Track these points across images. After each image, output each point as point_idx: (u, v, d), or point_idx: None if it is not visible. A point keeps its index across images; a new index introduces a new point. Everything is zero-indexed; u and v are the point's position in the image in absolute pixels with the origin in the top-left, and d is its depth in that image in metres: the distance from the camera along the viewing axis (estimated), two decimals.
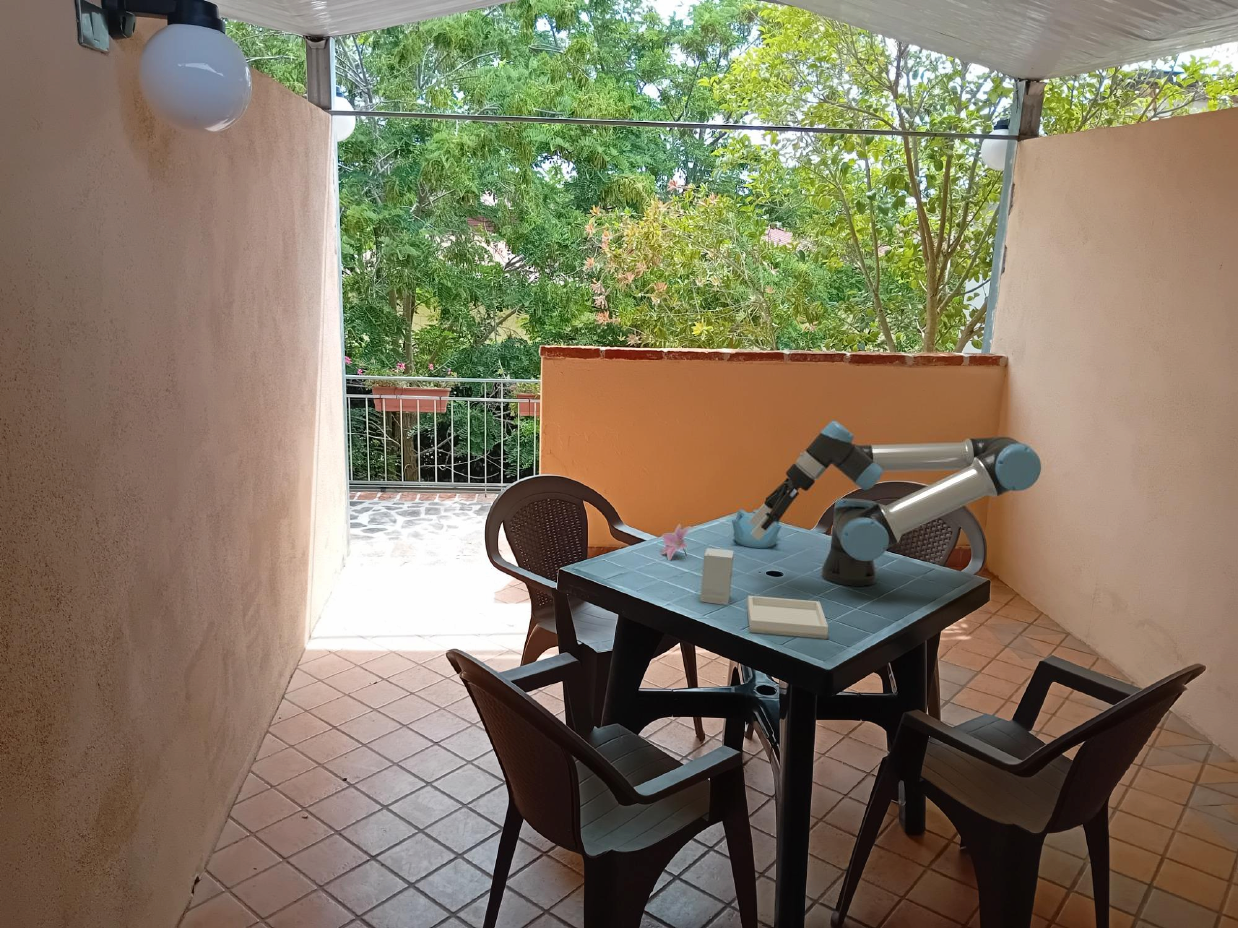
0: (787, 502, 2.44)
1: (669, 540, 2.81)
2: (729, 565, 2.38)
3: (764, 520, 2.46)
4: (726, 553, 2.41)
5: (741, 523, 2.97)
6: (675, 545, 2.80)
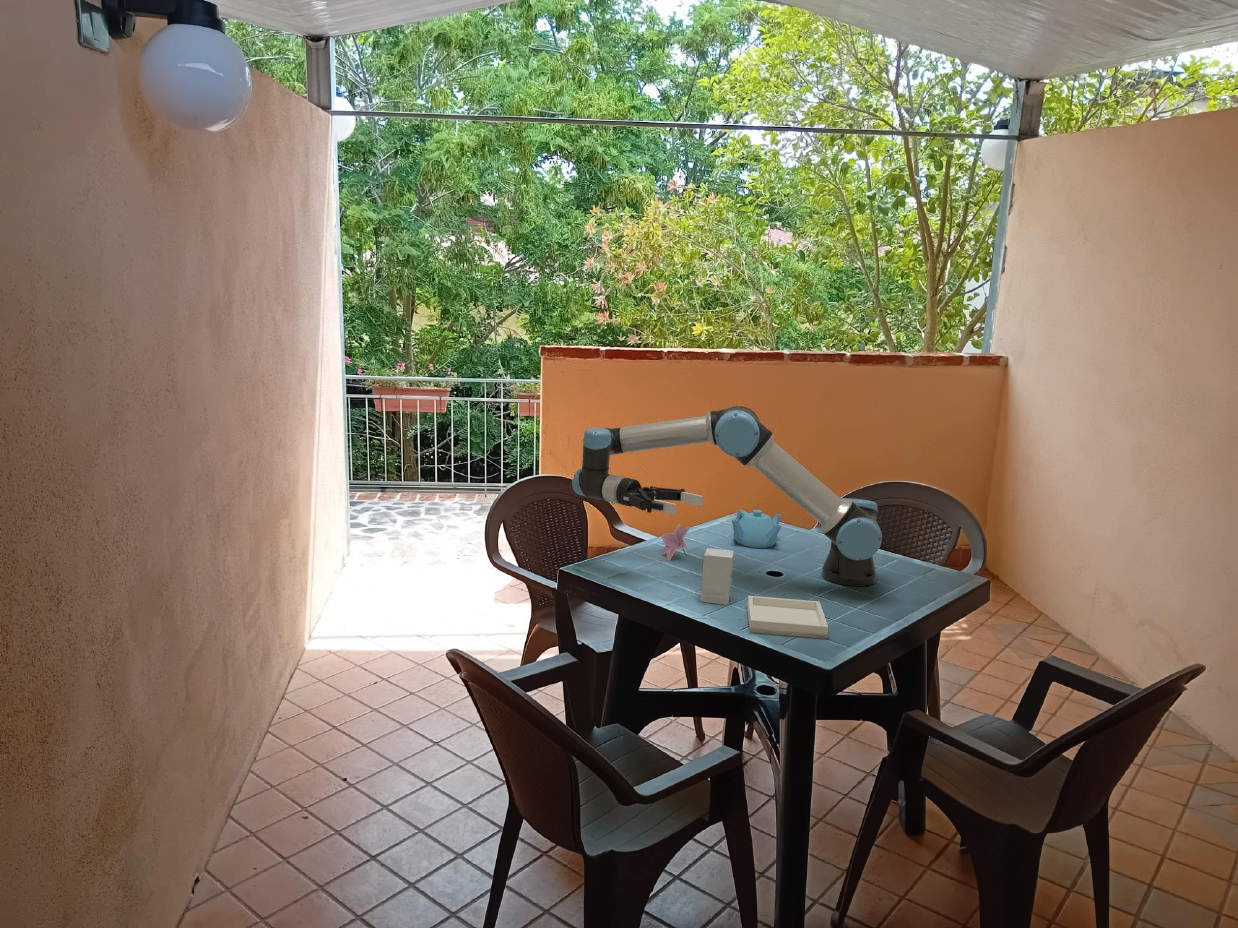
0: (632, 499, 2.46)
1: (669, 540, 2.81)
2: (729, 565, 2.38)
3: (657, 509, 2.42)
4: (726, 553, 2.41)
5: (741, 523, 2.97)
6: (675, 545, 2.80)
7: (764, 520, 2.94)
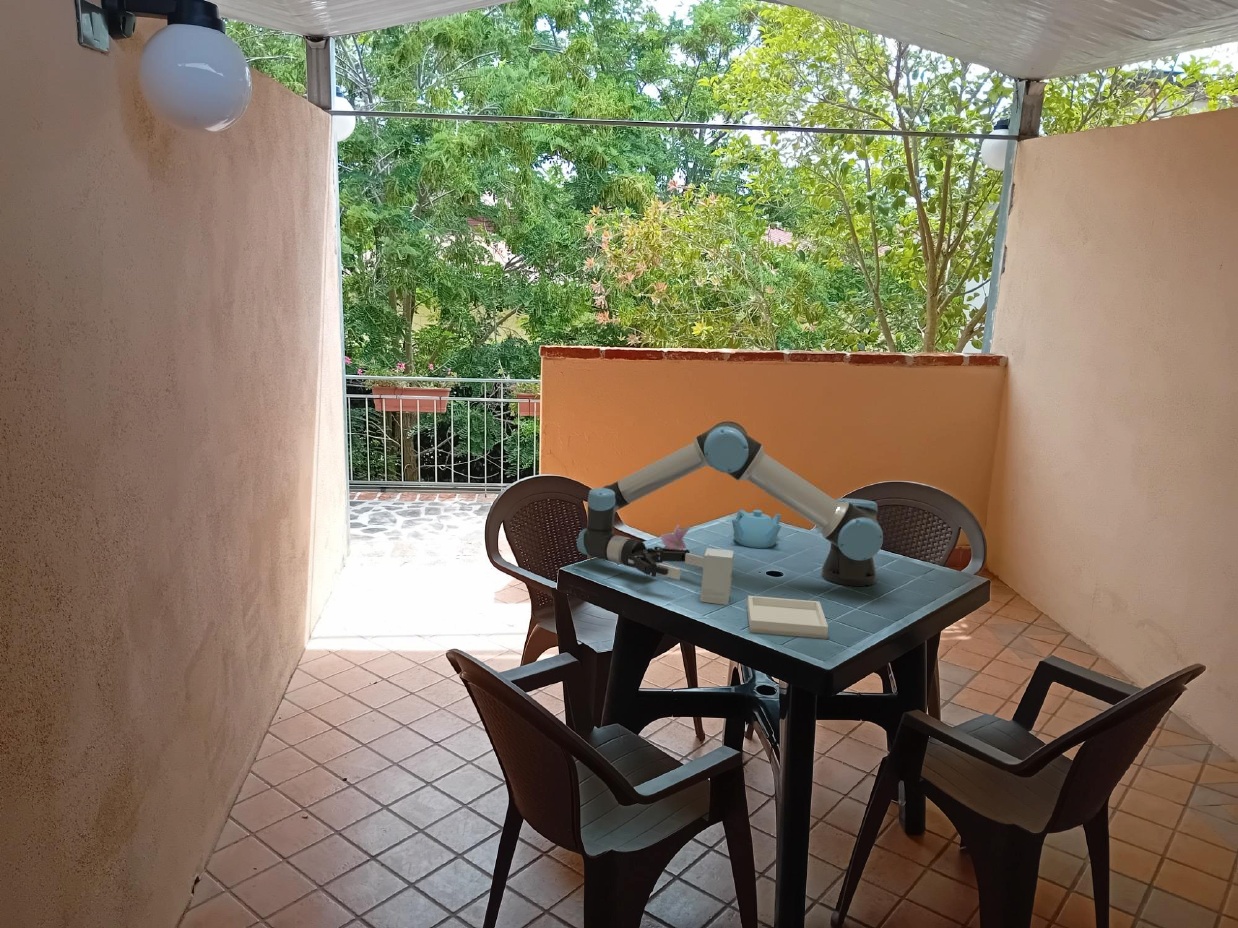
0: (636, 563, 2.47)
1: (668, 541, 2.81)
2: (729, 565, 2.38)
3: (661, 573, 2.44)
4: (726, 553, 2.41)
5: (741, 523, 2.97)
6: (674, 546, 2.80)
7: (764, 520, 2.94)
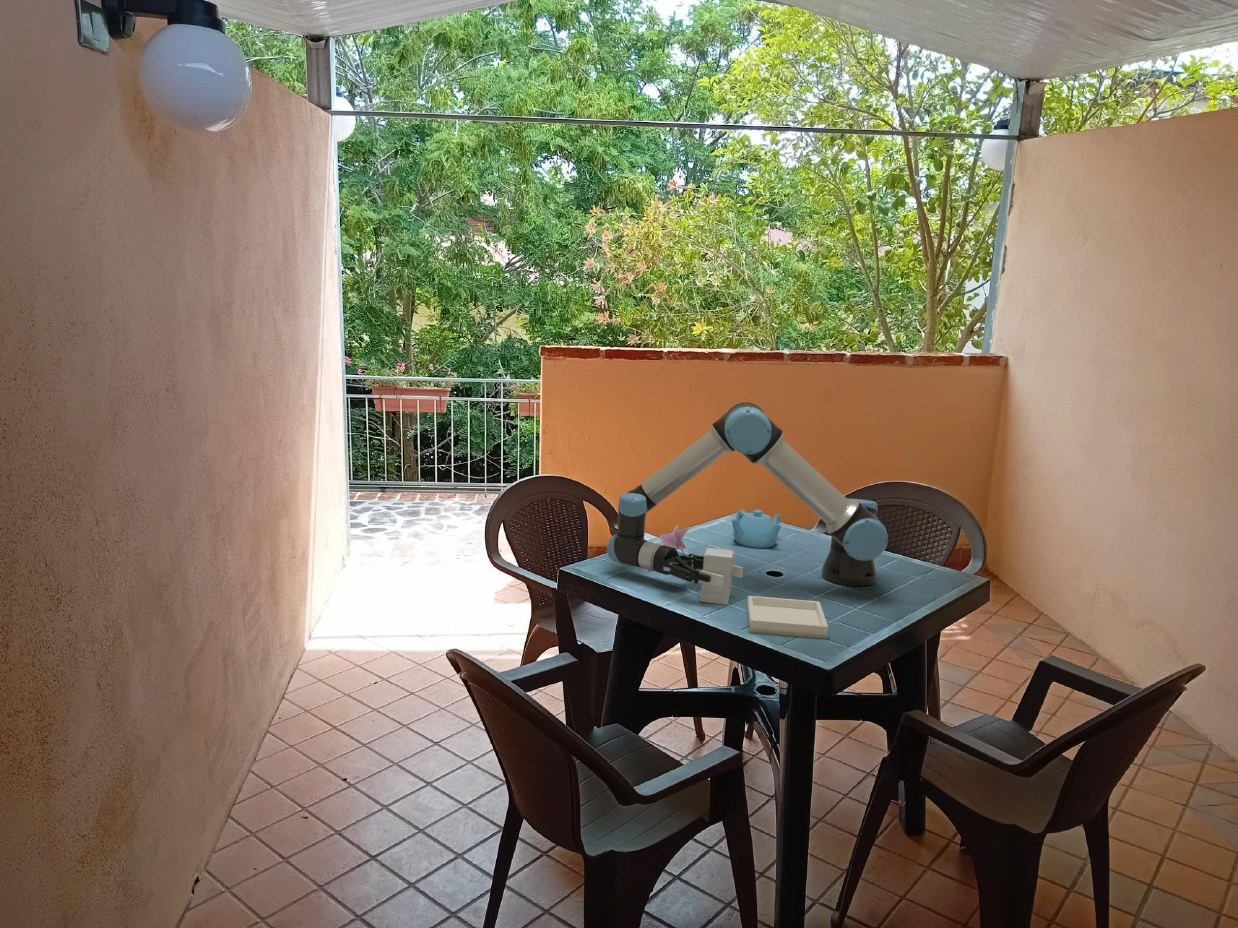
0: (674, 570, 2.42)
1: (667, 541, 2.80)
2: (729, 565, 2.38)
3: (704, 580, 2.39)
4: (726, 553, 2.41)
5: (741, 523, 2.97)
6: (673, 546, 2.79)
7: (764, 520, 2.94)
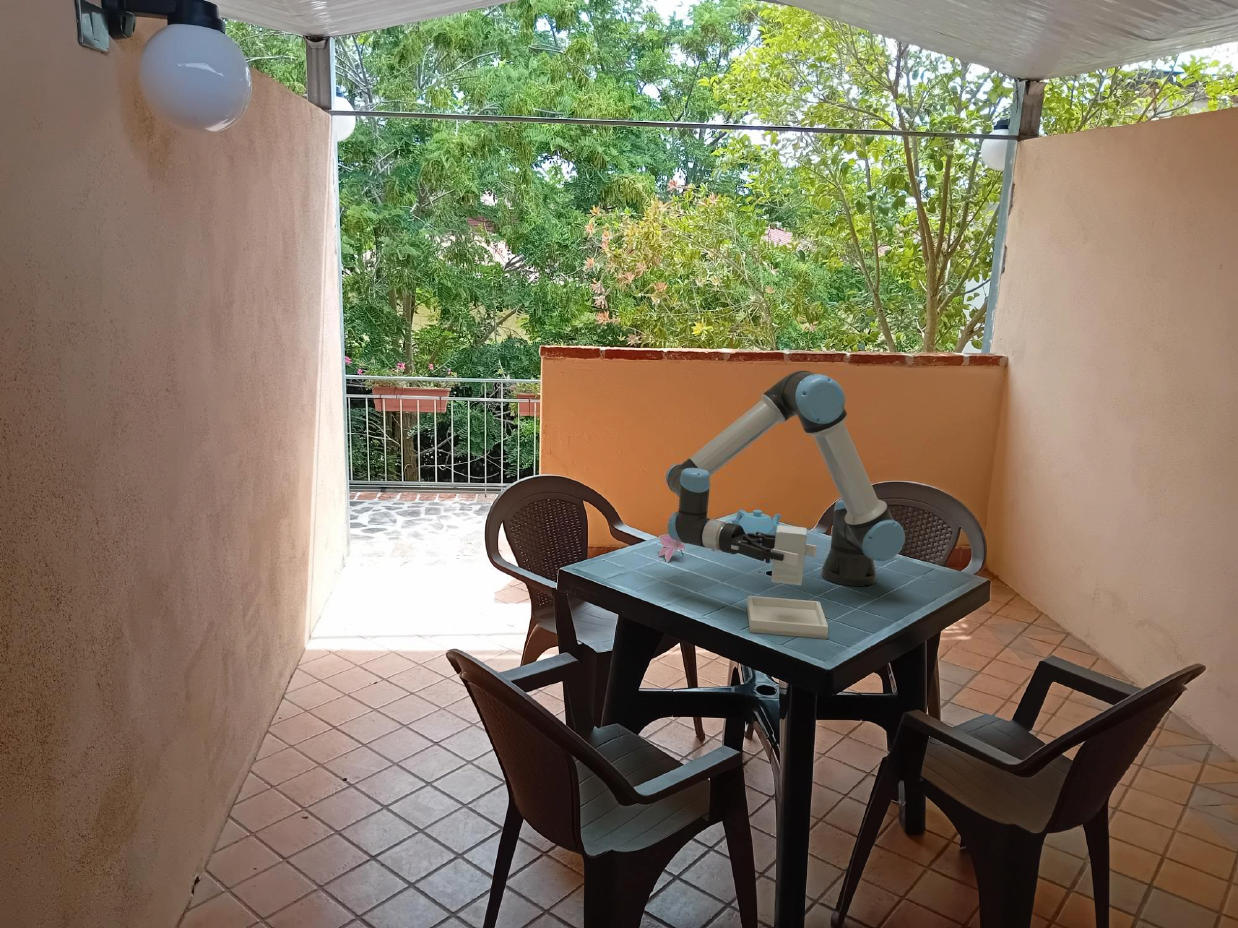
0: (744, 549, 2.26)
1: (666, 541, 2.80)
2: (803, 543, 2.22)
3: (776, 559, 2.23)
4: (799, 530, 2.25)
5: (741, 523, 2.97)
6: (672, 546, 2.79)
7: (764, 520, 2.94)
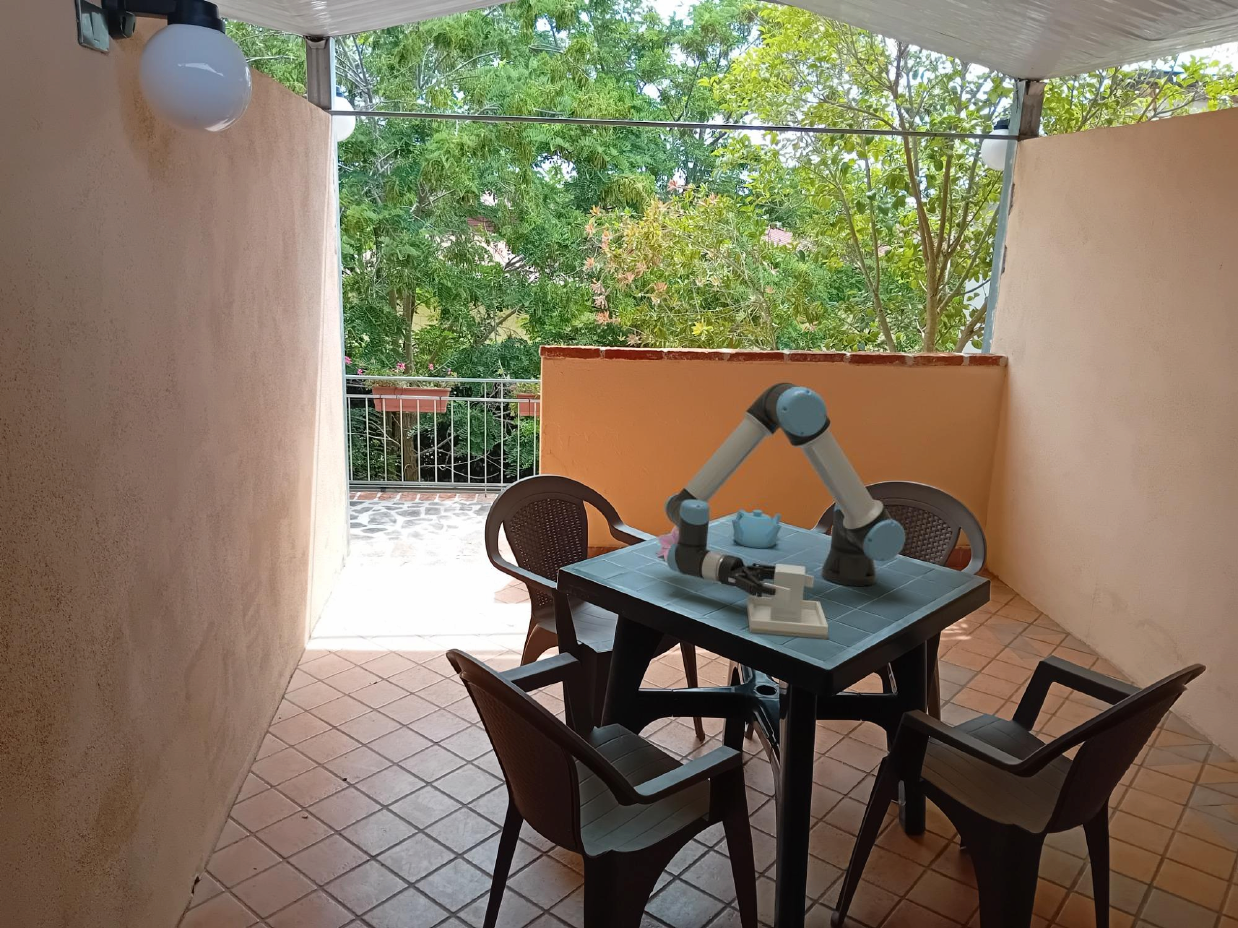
0: (739, 582, 2.27)
1: (665, 542, 2.79)
2: (802, 582, 2.24)
3: (768, 594, 2.24)
4: (798, 569, 2.27)
5: (741, 523, 2.97)
6: None
7: (764, 520, 2.94)
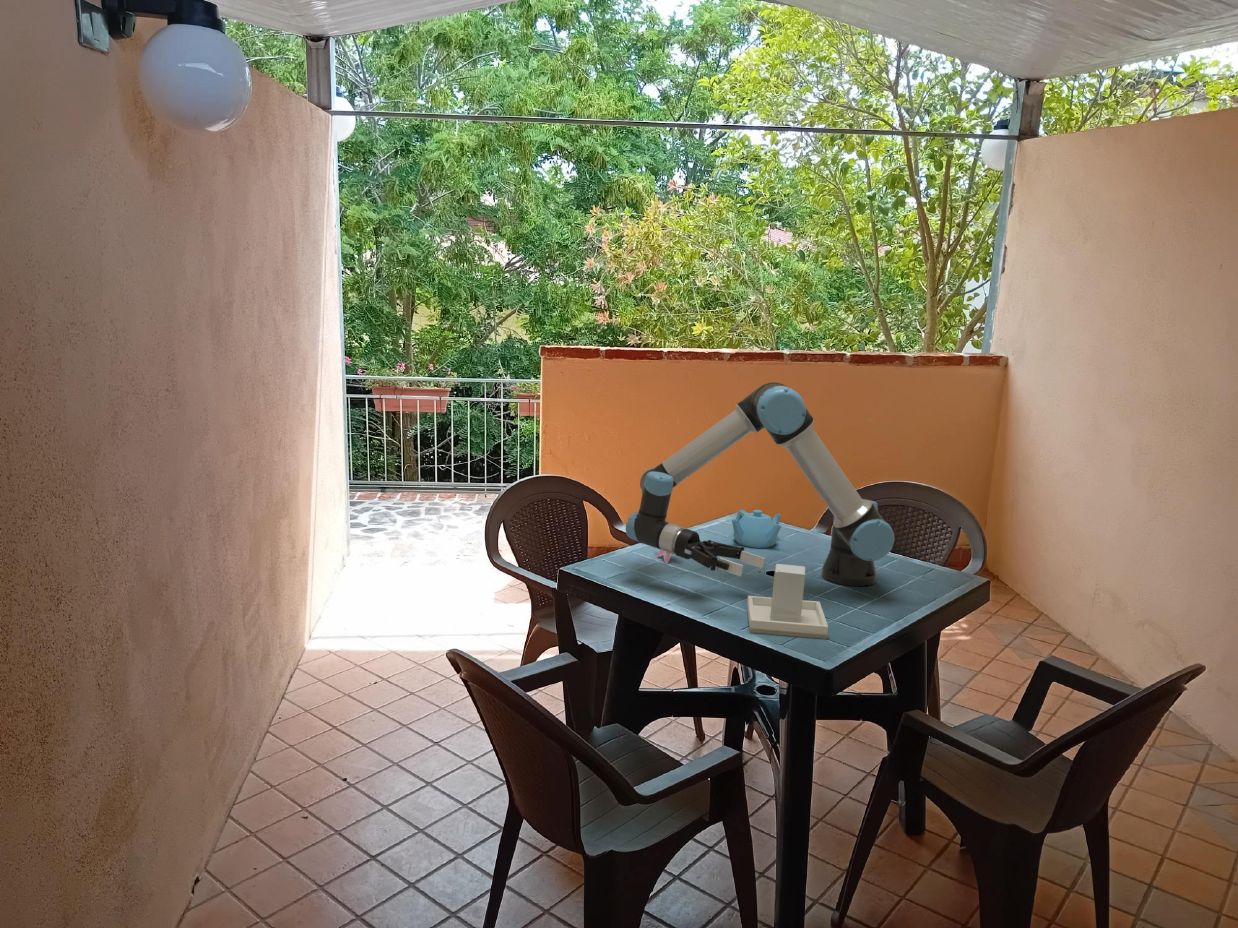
0: (694, 554, 2.35)
1: None
2: (802, 582, 2.24)
3: (721, 568, 2.32)
4: (798, 569, 2.27)
5: (741, 523, 2.97)
6: None
7: (764, 520, 2.94)
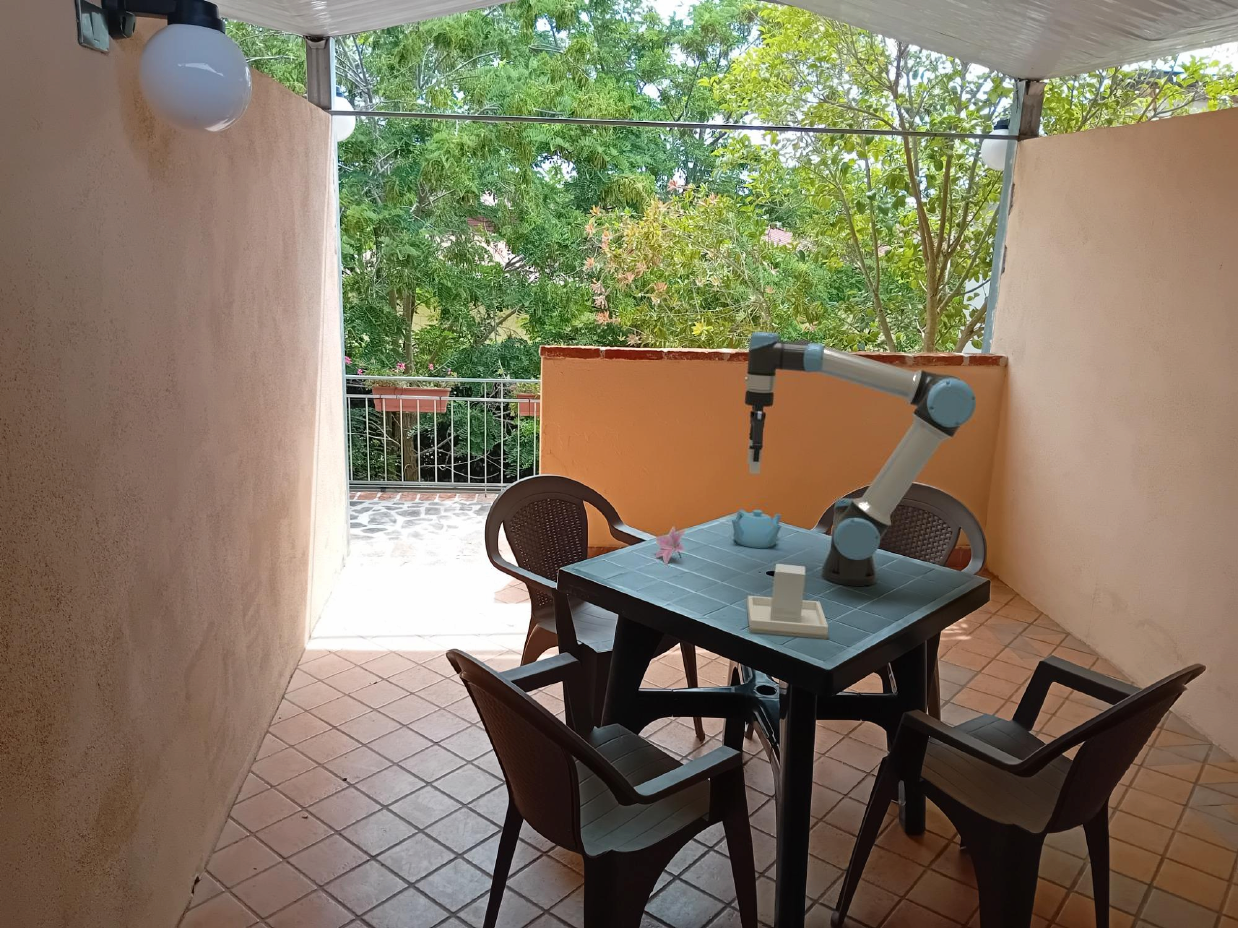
0: (759, 426, 2.45)
1: (663, 543, 2.78)
2: (802, 582, 2.24)
3: (752, 454, 2.47)
4: (798, 569, 2.27)
5: (741, 523, 2.97)
6: (670, 548, 2.77)
7: (764, 520, 2.94)
